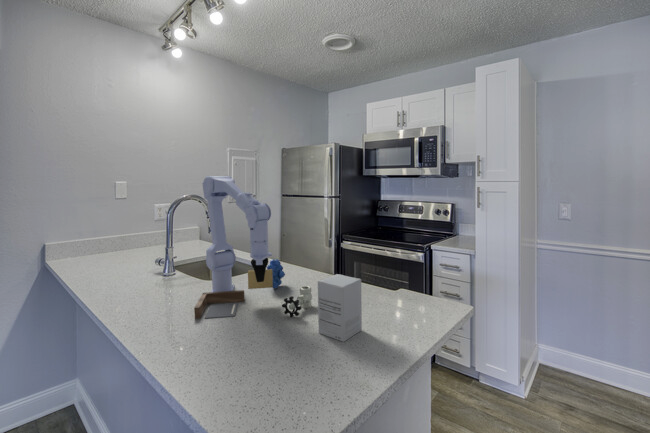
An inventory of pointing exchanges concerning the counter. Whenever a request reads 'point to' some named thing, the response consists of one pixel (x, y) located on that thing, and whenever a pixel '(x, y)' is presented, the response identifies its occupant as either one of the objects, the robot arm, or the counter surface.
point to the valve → (298, 301)
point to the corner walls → (217, 299)
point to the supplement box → (339, 307)
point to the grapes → (276, 272)
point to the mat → (221, 310)
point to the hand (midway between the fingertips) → (260, 281)
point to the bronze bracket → (254, 284)
